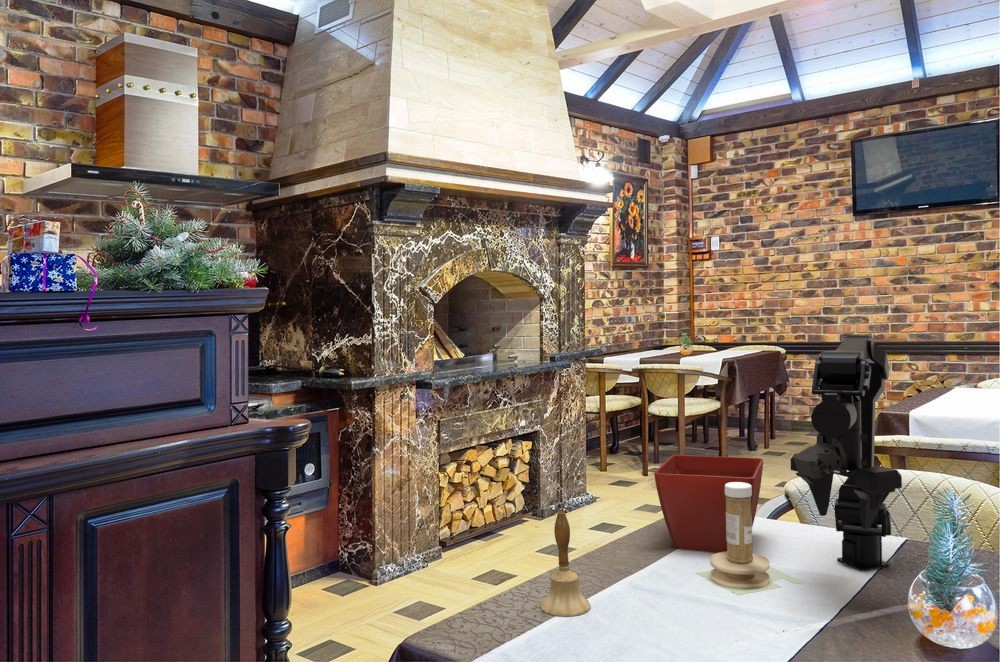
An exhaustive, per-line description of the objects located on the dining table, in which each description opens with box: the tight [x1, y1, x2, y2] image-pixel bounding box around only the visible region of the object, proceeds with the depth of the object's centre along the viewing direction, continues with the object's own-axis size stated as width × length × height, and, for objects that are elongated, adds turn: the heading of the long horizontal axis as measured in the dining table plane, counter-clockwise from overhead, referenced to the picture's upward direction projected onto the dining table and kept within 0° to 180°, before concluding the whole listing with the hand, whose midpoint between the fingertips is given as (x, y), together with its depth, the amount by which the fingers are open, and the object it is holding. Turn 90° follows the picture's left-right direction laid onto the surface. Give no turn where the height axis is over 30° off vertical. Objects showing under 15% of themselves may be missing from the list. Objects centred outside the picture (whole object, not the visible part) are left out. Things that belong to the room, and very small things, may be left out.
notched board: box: [695, 566, 806, 596], centre depth 139 cm, size 14×12×1 cm
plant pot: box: [653, 454, 764, 554], centre depth 160 cm, size 19×19×17 cm
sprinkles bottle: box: [725, 482, 753, 563], centre depth 138 cm, size 5×5×14 cm
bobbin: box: [709, 551, 771, 590], centre depth 138 cm, size 10×10×3 cm
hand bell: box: [540, 510, 591, 618], centre depth 130 cm, size 8×8×16 cm
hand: (843, 522), depth 129 cm, fingers open, 9 cm apart
